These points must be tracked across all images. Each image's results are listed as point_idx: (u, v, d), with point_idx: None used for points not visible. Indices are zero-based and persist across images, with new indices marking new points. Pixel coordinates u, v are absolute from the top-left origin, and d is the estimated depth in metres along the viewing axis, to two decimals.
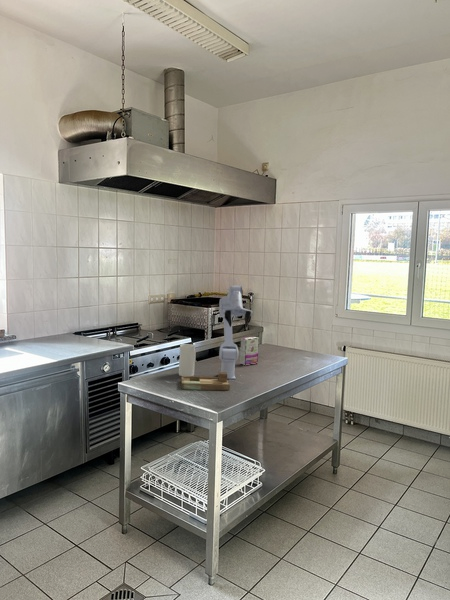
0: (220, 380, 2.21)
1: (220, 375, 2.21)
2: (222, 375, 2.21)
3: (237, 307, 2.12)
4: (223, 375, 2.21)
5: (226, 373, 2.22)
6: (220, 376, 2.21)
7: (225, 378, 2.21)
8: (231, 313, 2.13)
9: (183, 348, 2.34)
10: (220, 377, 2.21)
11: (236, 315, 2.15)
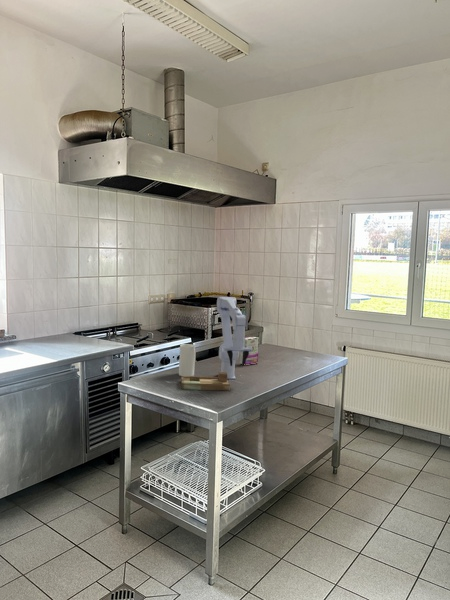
0: (220, 380, 2.21)
1: (220, 375, 2.21)
2: (222, 375, 2.21)
3: (238, 350, 2.19)
4: (223, 375, 2.21)
5: (226, 373, 2.22)
6: (220, 376, 2.21)
7: (225, 378, 2.21)
8: (232, 351, 2.22)
9: (183, 348, 2.34)
10: (220, 377, 2.21)
11: None
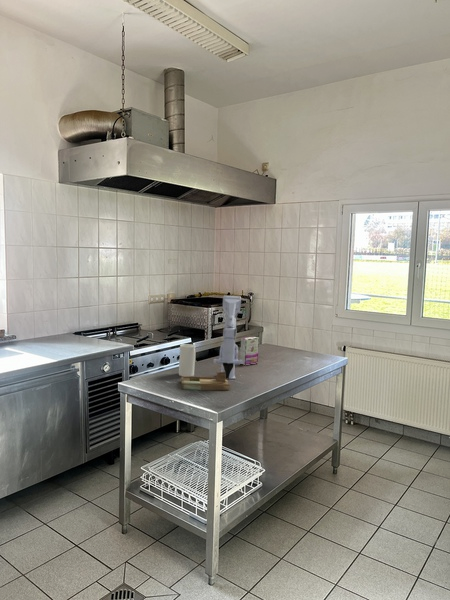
0: (218, 380, 2.21)
1: (218, 375, 2.21)
2: (220, 375, 2.21)
3: (228, 362, 2.19)
4: (221, 375, 2.21)
5: (224, 373, 2.22)
6: (218, 376, 2.21)
7: (224, 378, 2.21)
8: (222, 363, 2.22)
9: (183, 348, 2.34)
10: (218, 377, 2.21)
11: None
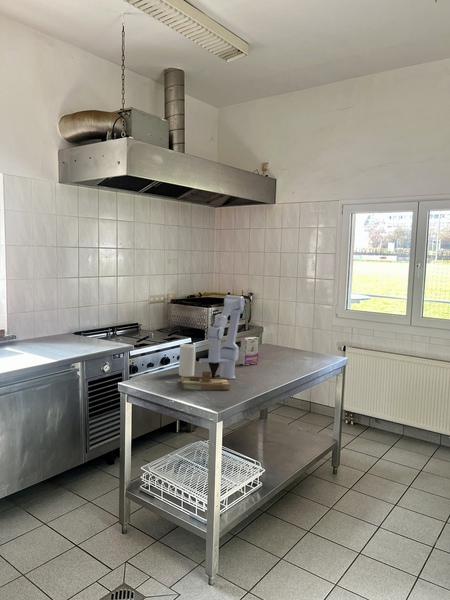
0: (203, 379, 2.20)
1: (203, 374, 2.20)
2: (205, 374, 2.20)
3: None
4: (206, 374, 2.20)
5: (209, 373, 2.21)
6: (203, 375, 2.20)
7: (209, 378, 2.20)
8: None
9: (183, 348, 2.34)
10: (203, 376, 2.20)
11: None
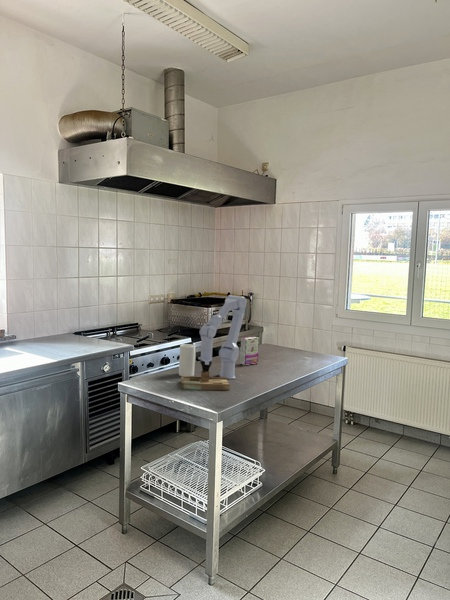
0: (202, 379, 2.20)
1: (202, 374, 2.20)
2: (204, 374, 2.20)
3: None
4: (205, 374, 2.20)
5: (208, 373, 2.21)
6: (202, 375, 2.20)
7: (207, 378, 2.20)
8: None
9: (183, 348, 2.34)
10: (202, 376, 2.20)
11: None
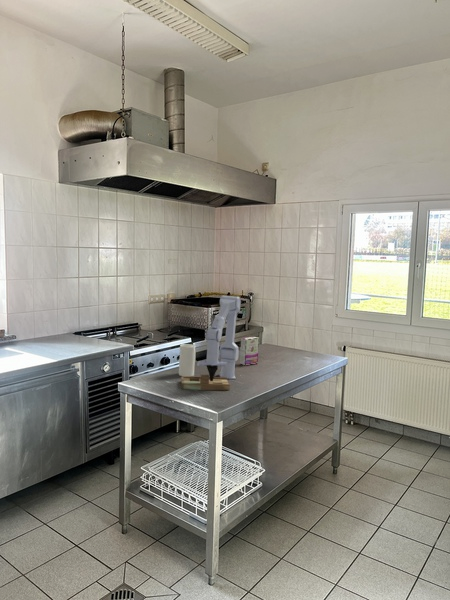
0: None
1: (202, 378, 2.13)
2: (204, 378, 2.14)
3: (211, 365, 2.12)
4: (205, 378, 2.14)
5: (208, 376, 2.15)
6: (202, 379, 2.14)
7: (207, 381, 2.14)
8: (205, 365, 2.15)
9: (183, 348, 2.34)
10: (202, 380, 2.14)
11: None
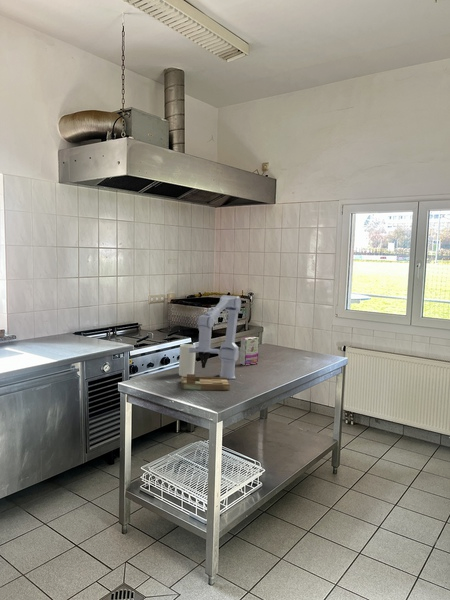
0: None
1: (188, 378, 2.13)
2: (190, 378, 2.13)
3: (203, 351, 2.11)
4: (191, 378, 2.13)
5: (194, 375, 2.14)
6: (188, 379, 2.13)
7: (194, 381, 2.13)
8: (197, 352, 2.14)
9: (183, 348, 2.34)
10: (188, 380, 2.13)
11: None
